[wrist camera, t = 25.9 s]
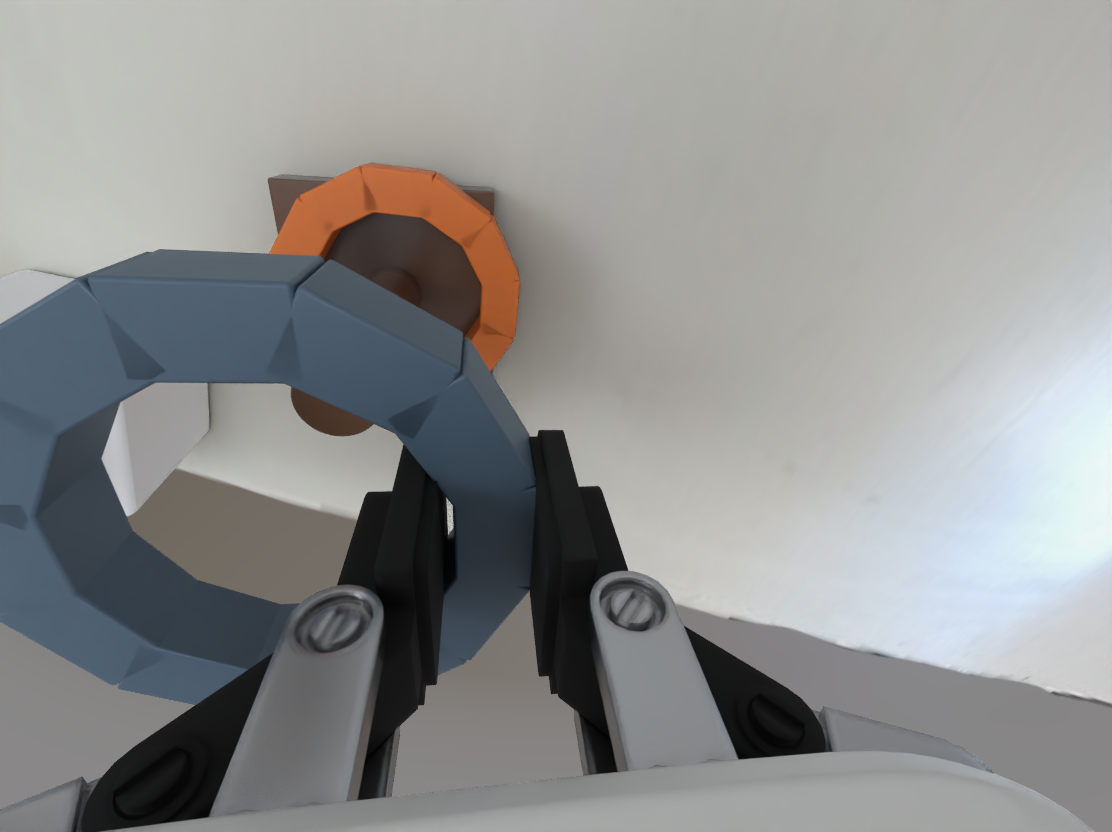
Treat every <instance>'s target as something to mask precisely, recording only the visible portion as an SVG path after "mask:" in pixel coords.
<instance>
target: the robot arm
mask: <svg viewBox="0 0 1112 832" xmlns="http://www.w3.org/2000/svg"><path fill="white" fill-rule="evenodd" d="M529 438H530V444H531V451H532V457H533V463H534V470H535V476H536V485H535V486H536V497H535V513H534V530H533V546H532V563H531V579H530V586H529V587H530V598H531V608H532V617H533V627H534V637H535V645H536V656H537V665H538V673H539V676H549V680H550V690H551V694H558V696H559V698H560V699H562V700H563V701H564V702H566V703H567V704H568V705H569V706H571V707H572V708H573V709H574V721H575V727H576V733H577V739H578V746H579V752H580V758H581V764H582V770H583V776H576V777H567V778H558V779H549V780H539V781H530V782H521V783H512V784H503V785H493V786H484V787H475V788H466V789H457V790H447V791H438V792H429V793H420V794H412V795H402V796H393V797H392V788H393V782H394V774H395V767H396V759H397V752H398V744H399V737H400V725H401V724H402V723H403V722H404V721H405V720H406V719H407V718H409V716H411V715H412V714H413V713H414V712H415V711H416V710H417V709H418V705H424V701H425V689H426V685H436V684H437V677H438V664H439V651H440V638H441V626H442V613H443V600H444V582H445V569H446V556H447V544H448V525H447V504H446V496H445V495H444V494H443V493H442V491H441V490H440V489H439V488H438V485H437V481H434V480H432V479H431V478H430V476H429V475H428V474H427V473H426V471H425V470H424V469H423V468H422V466H421V465H420V464H419V463H418V461H417V460H416V459H415V458H414V456H413V455H412V454H411V453H410V451H409V450H408V449H407V448H406V446H405V445H403V449H402V453H401V457H400V462H399V466H398V470H397V474H396V478H395V482H394V486H393V491H387V492H368V493H367V494H366V496H365V498H364V501H363V504H362V507H361V510H360V514H359V517H358V520H357V524H356V527H355V530H354V533H353V536H352V539H351V543H350V546H349V549H348V552H347V555H346V559H345V562H344V565H343V568H342V571H341V575H340V578H339V581H338V584H337V586H333V587H329V588H326V589H324V590H321V591H319V592H316V593H315V594H313V595H311V596H310V597H308V598H307V599H305V600H303V601H302V602H301V603H300V604H299V605H298V606H297V607H296V608H295V609H294V610H293V611H292V613H291V614H290V616H289V618H288V620H287V621H286V623H285V625H284V628H283V630H282V633H281V635H280V638H279V640H278V643H277V645H276V648H275V650H274V652H273V653H272V654H270V655H269V656H267V657H266V658H264V659H263V660H262V661H260V662H259V663H257V664H256V665H254V666H253V667H251V668H250V669H248V670H247V671H245V672H244V673H242V674H241V675H239V676H238V677H236V678H235V679H233V680H232V681H231V682H229V683H228V684H226V685H225V686H223V687H222V688H220V689H219V690H217V691H216V692H214V693H213V694H211V695H210V696H208V697H207V698H205V699H204V700H202V701H201V702H200V703H198V704H197V705H195V706H194V707H192V708H191V709H189V710H188V711H186V712H185V713H184V714H182V715H180V716H179V717H178V718H176V719H175V720H173V721H172V722H170V723H169V724H167V725H166V726H164V727H163V728H161V729H160V730H158V731H157V732H155V733H154V734H152V735H151V736H150V737H148V738H146V739H145V740H144V741H142V742H141V743H139V744H138V745H136V746H135V747H133V748H132V749H131V750H130V751H128V752H127V753H126V754H125V755H124V756H122V757H121V758H120V759H119V760H117V761H116V762H115V763H114V764H113V765H112V766H111V767H110V769H109V770H108V771H107V772H106V773H105V774H104V775H103V777H101V778H99V779H96V780H94V781H91V782H89V783H86V781H85V780H84V778H83V777H80V778H77V779H75V780H72V781H70V782H68V783H65V784H62V785H60V786H57V787H55V788H52V789H50V790H47V791H45V792H42V793H40V794H37V795H35V796H32V797H30V798H27V799H25V800H23V801H20V802H17V803H15V804H12V805H10V806H7V807H5V808H2V809H0V832H1094V831H1093V830H1092V829H1091V828H1090V827H1088V826H1087V825H1086V824H1085V823H1083V822H1082V821H1081V820H1079V819H1078V818H1077V817H1075V816H1074V815H1073V814H1072V813H1071V812H1069V811H1068V810H1066V809H1065V808H1063V807H1061V806H1060V805H1058V804H1056V803H1055V802H1053V801H1052V800H1050V799H1048V798H1047V797H1045V796H1043V795H1041V794H1039V793H1037V792H1035V791H1033V790H1031V789H1029V788H1027V787H1025V786H1023V785H1021V784H1018V783H1016V782H1013V781H1011V780H1008V779H1006V778H1004V777H1001V776H999V775H996V774H994V773H993V772H992V771H991V770H990V769H989V768H988V767H987V766H986V765H985V764H984V763H983V762H982V761H981V760H980V759H979V758H977V757H976V756H974V755H973V754H972V753H970V752H969V751H967V750H966V749H965V748H963V747H961V746H959V745H956V744H954V743H952V742H949V741H947V740H945V739H941V738H937V737H934V736H930V735H926V734H923V733H919V732H916V731H912V730H908V729H905V728H901V727H898V726H894V725H890V724H886V723H883V722H879V721H876V720H872V719H869V718H865V717H861V716H858V715H854V714H850V713H847V712H843V711H840V710H836V709H832V708H829V707H825V706H823V708H822V710H821V712H817V711H814V710H811V709H810V708H809V707H808V705H807V704H806V703H805V702H804V701H803V700H802V699H801V698H800V697H798V696H797V695H796V694H794V693H793V692H792V691H790V690H789V689H788V688H786V687H784V686H783V685H781V684H779V683H778V682H776V681H775V680H773V679H771V678H770V677H768V676H766V675H765V674H763V673H761V672H760V671H758V670H756V669H755V668H753V667H751V666H750V665H748V664H746V663H745V662H743V661H741V660H740V659H738V658H736V657H735V656H733V655H731V654H730V653H728V652H726V651H725V650H723V649H722V648H720V647H718V646H717V645H715V644H713V643H712V642H710V641H708V640H706V639H705V638H703V637H702V636H700V635H698V634H696V633H695V632H693V631H692V630H690V629H688V628H687V627H685V626H684V625H683V623H682V621H681V618H680V616H679V613H678V611H677V608H676V606H675V603H674V601H673V599H672V597H671V596H670V594H669V593H668V591H667V590H666V589H665V588H664V587H663V586H662V585H661V584H660V583H659V582H658V581H656V580H654V579H652V578H651V577H649V576H647V575H644V574H641V573H638V572H633V571H628V568H627V565H626V562H625V559H624V556H623V553H622V550H621V547H620V544H619V541H618V538H617V535H616V532H615V529H614V526H613V523H612V520H611V517H610V514H609V511H608V508H607V505H606V502H605V499H604V496H603V493H602V490H601V488H600V487H599V486H589V487H579V486H578V483H577V479H576V475H575V472H574V468H573V464H572V461H571V457H570V453H569V450H568V446H567V442H566V438H565V435H564V432H563V430H539V431H538V437H529Z"/></svg>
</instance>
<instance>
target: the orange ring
mask: <svg viewBox="0 0 1112 832" xmlns="http://www.w3.org/2000/svg"><path fill="white" fill-rule="evenodd" d="M372 213H383V214H391V215H400V216H409V217H417V218H423V219H425V220H426V221H427V222H429V223H430V224H432V225H433V226H434V227H436V228H437V229H439V230H440V231H441V232H443V233H444V234H446V235H447V236H449V237H450V238H451V239H453V240H454V241H456V242H457V243H458V244H460V245H461V246H462V247H463V249H464V251H465V253H466V255H467V257H468V259H469V261H470V263H471V265H472V267H473V269H474V271H475V273H476V275H477V277H478V279H479V281H480V283H481V285H482V288H481V305H480V315H479V317H478V318H477V320H476V321H475V323H474V324H473V325H472V327H471V328H470V330H469V331H468V333H467V334H466V335H465V337H464V338H466V337H468V338H469V339H470V340H471V342H472V343H473V345H474V347H475V348H476V350H477V351H478V353H479V355H480V356H481V358H482V359H483V361H484V363H485V364H486V366H487V367H488V369H489V371H491V370H492V369H493V367H494V366H495V365H496V363H497V362H498V361H499V359H500V358H501V357H502V355H503V354H504V353H505V351H506V350H507V349H508V347H509V346H510V345H511V343H512V342H513V340H514V339H513V338H514V337H515V331H516V320H517V310H518V299H519V289H520V281H519V275H518V270H517V267H516V265H515V263H514V260H513V258H512V256H511V254H510V252H509V249H508V247H507V245H506V243H505V240H504V238H503V236H502V234H501V232H500V229H499V227H498V225H497V223H496V221H495V218H494V216H493V215H491V213H490V211H489V210H487V209H486V208H485V207H483V206H482V205H481V204H479V203H478V202H477V201H476V200H474V199H473V198H472V197H470V196H469V195H468V194H466V193H465V192H464V191H462V190H461V189H460V188H458V187H457V186H456V185H454V184H453V183H452V182H450V181H449V180H448V179H446V178H445V177H444V176H443V175H441V174H440V173H438V174H437V175H436V171H430V170H422V169H414V168H407V167H399V166H392V165H384V164H376V163H369V164H364V165H361V166H359V167H356V168H354V169H352V170H350V171H348V172H346V173H344V174H342V175H340V176H338V177H336V178H334V179H332V180H330V181H328V182H326V183H324V184H322V185H320V186H318V187H315V188H313V189H311V190H309V191H307V192H305V193H303V194H301V195H300V197H299V198H297V199H296V201H295V203H294V205H293V207H292V209H291V211H290V213H289V215H288V217H287V219H286V221H285V223H284V224H283V226H282V228H281V230H280V232H279V234H278V236H277V238H276V240H275V242H274V244H273V246H272V248H271V250H270V252H269V254H284V255H308V256H320V257H323V259H325V257H326V255H327V253H328V251H329V250H330V248H331V246H332V244H333V242H334V240H335V239H336V237H337V235H338V233H339V231H340V230H341V228H343V227H345V226H347V225H349V224H351V223H353V222H355V221H357V220H359V219H361V218H363V217H366V216H368V215H370V214H372Z"/></svg>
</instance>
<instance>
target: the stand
mask: <svg viewBox="0 0 1112 832" xmlns="http://www.w3.org/2000/svg"><path fill="white" fill-rule="evenodd" d="M332 179H334V178H328V177H312V176H295V175H278V176H274V177H270V178H268V184H269V189H270V194H271V200H272V205H273V210H274V215H275V221H276V226H277V231H278V234H279V232H280V230H281V228H282V226H283V224H284V223H285V221H286V219H287V217H288V215H289V213H290V211H291V209H292V207H293V205H294V203H295V201H296V199H297V198H299V197H300V195H301V194H303V193H305V192H307V191H309V190H311V189H313V188H315V187H318V186H320V185H322V184H324V183H326V182H328V181H330V180H332ZM456 186H457V187H458V188H460V189H461V190H462V191H464V192H465V193H466V194H468V195H469V196H470V197H472V198H473V199H474V200H476V201H477V202H478V203H479V204H481V205H482V206H483V207H485V208H486V209H487V210H489V211H490V213H491V215H493V216H494V189H493V188H491V187H475V186H459V185H456ZM329 260H334V261H336V262H338V263H339V264H341V265H343V266H345V267H347V268H348V269H350V270H352V271H354V272H356V273H357V274H359V275H361V276H363V277H365V278H366V279H368V280H370V281H372V282H374V283H375V284H377V285H379V286H381V287H383V288H384V289H386V290H388V291H390V292H392V293H393V294H395V295H397V296H399V297H401V298H402V299H404V300H406V301H408V302H410V303H411V304H413V305H415V306H417V307H418V308H420V309H422V310H424V311H426V312H427V313H429V314H431V315H433V316H435V317H436V318H438V319H440V320H442V321H444V322H445V323H447V324H449V325H451V326H453V327H454V328H456V329H458V330H460V331H461V332H462V333H463V338H464V337H465V335H466V334H467V333H468V331H469V330H470V328H471V327H472V325H473V324H474V323H475V321H476V320H477V318H478V317H479V315H480V305H481V288H482V285H481V283H480V281H479V279H478V277H477V275H476V273H475V271H474V269H473V267H472V265H471V263H470V261H469V259H468V257H467V255H466V253H465V251H464V249H463V247H462V246H461V245H460V244H458V243H457V242H456V241H454V240H453V239H451V238H450V237H449V236H447V235H446V234H444V233H443V232H441V231H440V230H439V229H437V228H436V227H434V226H433V225H432V224H430V223H429V222H427V221H426V220H425V219H423V218H417V217H409V216H400V215H391V214H383V213H372V214H370V215H368V216H366V217H363V218H361V219H359V220H357V221H355V222H353V223H351V224H349V225H347V226H345V227H343V228H341V230H340V231H339V233H338V235H337V237H336V239H335V240H334V242H333V244H332V246H331V248H330V250H329V251H328V253H327V255H326V257H325V259H324V261H325V263H326V262H327V261H329ZM490 372H491V374H492V375H493V369H492V370H491V371H490ZM291 399H292V403H293V406H294V408H295V410H296V412H297V413H298V415H299V416H300V417H301V419H302V420H304V421H305V422H306V423H307V424H308V425H309V426H311V427H312V428H314V429H316V430H318V431H320V432H323V433H325V434H329V435H334V436H351V435H355V434H359V433H361V432H363V431H365V430H367V429H368V428H370V427H371V426H372V425H373V423H371V422H369V421H366V420H364V419H362V418H360V417H358V416H355V415H353V414H351V413H349V412H346V411H344V410H342V409H340V408H338V407H335V406H333V405H331V404H329V403H326V402H324V401H322V400H320V399H317V398H315V397H313V396H311V395H309V394H306V393H304V392H302V391H300V390H297V389H295V388H293V387H291Z"/></svg>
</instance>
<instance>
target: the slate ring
mask: <svg viewBox="0 0 1112 832" xmlns="http://www.w3.org/2000/svg"><path fill="white" fill-rule="evenodd" d="M154 383H279V384H286V385H289V386H291V387H293V388H295V389H297V390H300V391H302V392H304V393H306V394H309V395H311V396H313V397H315V398H317V399H320V400H322V401H324V402H326V403H329V404H331V405H333V406H335V407H338V408H340V409H342V410H344V411H346V412H349V413H351V414H353V415H355V416H358V417H360V418H362V419H364V420H366V421H369V422H371V423H373V424H375V425H378V426H380V427H382V428H384V429H387V430H389V431H391V432H393V433H395V434H396V435H397V436H398V438H399V439H400V440H401V441H402V443H403V444H404V445H405V446H406V448H407V449H408V450H409V451H410V453H411V454H412V455H413V456H414V458H415V459H416V460H417V461H418V463H419V464H420V465H421V466H422V468H423V469H424V470H425V471H426V473H427V474H428V475H429V476H430V478H431V479H432V480H434V481H437V485H438V488H439V489H440V490H441V491H442V493H443V494H444V495H445V496H446V498H447V499H448V500H449V501H450V503H451V504H452V505H453V524H454V528H453V529H452V531H451V532H450V534H449V535H448V544H447V556H446V569H445V582H444V600H443V613H442V626H441V638H440V651H439V664H438V675H440V674H442V673H445V672H447V671H449V670H451V669H454V668H456V667H458V666H460V665H463V664H464V663H466V661H467V660H471V659H472V658H473V657H474V656H475V655H476V653H477V652H478V651H479V650H480V649H481V648H482V646H483V645H484V644H485V643H486V642H487V640H488V639H489V638H490V637H491V636H492V635H493V633H494V632H495V631H496V630H497V629H498V627H499V626H500V625H501V624H502V623H503V621H504V620H505V619H506V618H507V617H508V615H509V614H510V613H511V612H512V611H513V610H514V608H515V607H516V606H517V605H518V604H519V603H520V601H521V600H522V599H523V598H524V597H525V595H526V594H527V593H528V592H529V590H530V587H529V586H530V579H531V563H532V546H533V530H534V513H535V497H536V486H535V485H536V476H535V470H534V463H533V457H532V451H531V444H530V438H529V437H530V436H529V433H528V431H527V430H526V428H525V427H524V425H523V423H522V422H521V420H520V419H519V417H518V415H517V414H516V412H515V411H514V409H513V407H512V406H511V404H510V403H509V401H508V399H507V398H506V396H505V395H504V393H503V391H502V390H501V388H500V387H499V385H498V383H497V382H496V380H495V379H494V377H493V375H492V374H491V372H490V371H489V369H488V367H487V366H486V364H485V363H484V361H483V359H482V358H481V356H480V355H479V353H478V351H477V350H476V348H475V347H474V345H473V343H472V342H471V340H470V339H469V338H468V337H466V338H463V333H462V332H461V331H460V330H458V329H456V328H454V327H453V326H451V325H449V324H447V323H445V322H444V321H442V320H440V319H438V318H436V317H435V316H433V315H431V314H429V313H427V312H426V311H424V310H422V309H420V308H418V307H417V306H415V305H413V304H411V303H410V302H408V301H406V300H404V299H402V298H401V297H399V296H397V295H395V294H393V293H392V292H390V291H388V290H386V289H384V288H383V287H381V286H379V285H377V284H375V283H374V282H372V281H370V280H368V279H366V278H365V277H363V276H361V275H359V274H357V273H356V272H354V271H352V270H350V269H348V268H347V267H345V266H343V265H341V264H339V263H338V262H336V261H334V260H329V261H327V262H326V263H325V261H324V259H323V257H320V256H308V255H284V254H261V253H237V252H213V251H189V250H165V249H159V250H157V251H154V252H145V253H143V254H140V255H137V256H135V257H132V258H129V259H127V260H124V261H121V262H119V263H116V264H113V265H111V266H108V267H105V268H102V269H100V270H97V271H94V272H92V273H89V274H86V275H84V276H81V277H78V278H76V279H74V280H73V281H71V282H69V283H68V284H66V285H64V286H63V287H61V288H59V289H58V290H56V291H54V292H53V293H51V294H49V295H48V296H46V297H44V298H43V299H41V300H39V301H38V302H36V303H34V304H33V305H31V306H29V307H27V308H26V309H24V310H22V311H21V312H19V313H17V314H16V315H14V316H12V317H11V318H9V319H7V320H6V321H4V322H2V323H1V324H0V622H1V623H3V624H5V625H7V626H8V627H10V628H12V629H14V630H16V631H17V632H19V633H21V634H22V635H24V636H26V637H28V638H29V639H31V640H33V641H35V642H36V643H38V644H40V645H42V646H43V647H45V648H47V649H49V650H50V651H52V652H54V653H56V654H58V655H59V656H61V657H63V658H65V659H66V660H68V661H70V662H72V663H73V664H75V665H77V666H79V667H80V668H82V669H84V670H86V671H87V672H89V673H91V674H93V675H94V676H96V677H98V678H100V679H102V680H103V681H105V682H107V683H108V684H111V685H116V684H118V683H119V685H118V688H119V689H121V690H126V691H131V692H135V693H140V694H145V695H150V696H155V697H160V698H165V699H169V700H174V701H179V702H184V703H189V704H193V705H197V704H198V703H200V702H201V701H202V700H204V699H205V698H207V697H208V696H210V695H211V694H213V693H214V692H216V691H217V690H219V689H220V688H222V687H223V686H225V685H226V684H228V683H229V682H231V681H232V680H233V679H235V678H236V677H238V676H239V675H241V674H242V673H244V672H245V671H247V670H248V669H250V668H251V667H253V666H254V665H256V664H257V663H259V662H260V661H262V660H263V659H264V658H266V657H267V656H269V655H270V654H272V653H273V652H274V650H275V648H276V645H277V643H278V640H279V638H280V635H281V633H282V630H283V628H284V625H285V623H286V621H287V620H288V618H289V616H290V614H291V613H292V611H293V610H294V609H295V608H296V607H297V606H298V605H299V604H300V603H297V604H278V603H275V602H271V601H268V600H264V599H261V598H257V597H254V596H251V595H247V594H244V593H240V592H236V591H233V590H230V589H226V588H223V587H220V586H216V585H213V584H209V583H206V582H202V581H199V580H197V579H196V578H194V577H193V576H192V575H190V574H189V573H188V572H186V571H185V570H184V569H182V568H181V567H180V566H178V565H177V564H176V563H175V562H173V561H172V560H171V559H169V558H168V557H167V556H165V555H164V554H162V553H161V552H160V551H159V550H157V549H156V548H155V547H153V546H152V545H151V544H149V543H148V542H147V541H146V540H144V539H143V538H142V537H140V536H139V535H137V534H136V533H135V532H134V531H133V530H132V528H131V525H130V523H129V521H128V518H127V516H126V514H125V512H124V509H123V507H122V505H121V502H120V500H119V498H118V496H117V493H116V491H115V489H114V486H113V484H112V482H111V480H110V477H109V475H108V473H107V470H106V468H105V466H104V464H103V461H102V456H103V453H104V450H105V447H106V444H107V441H108V438H109V435H110V432H111V429H112V426H113V423H114V420H115V417H116V414H117V411H118V408H119V405H120V402H122V401H124V400H125V399H127V398H129V397H131V396H133V395H134V394H136V393H138V392H140V391H142V390H143V389H145V388H147V387H149V386H151V385H152V384H154Z"/></svg>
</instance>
